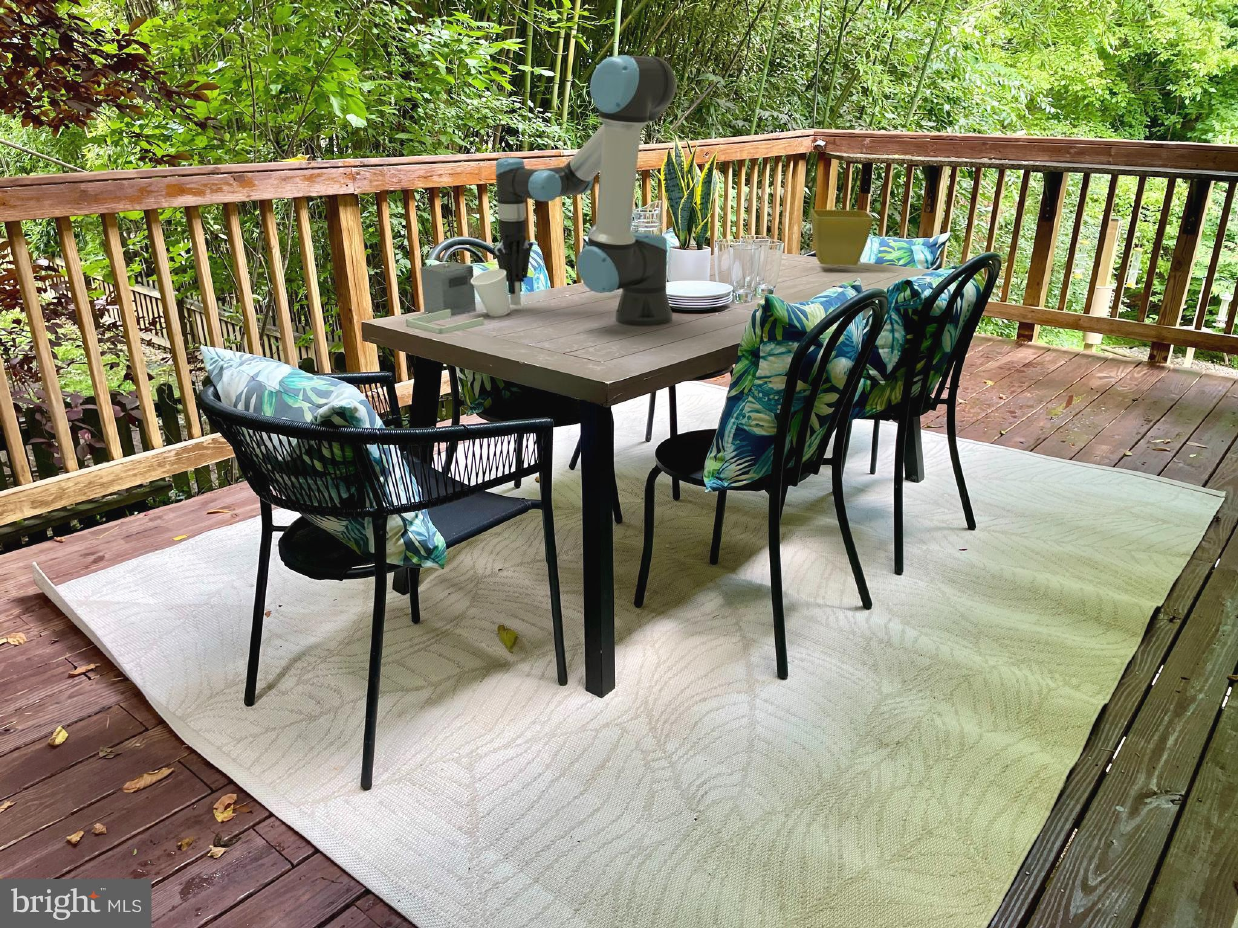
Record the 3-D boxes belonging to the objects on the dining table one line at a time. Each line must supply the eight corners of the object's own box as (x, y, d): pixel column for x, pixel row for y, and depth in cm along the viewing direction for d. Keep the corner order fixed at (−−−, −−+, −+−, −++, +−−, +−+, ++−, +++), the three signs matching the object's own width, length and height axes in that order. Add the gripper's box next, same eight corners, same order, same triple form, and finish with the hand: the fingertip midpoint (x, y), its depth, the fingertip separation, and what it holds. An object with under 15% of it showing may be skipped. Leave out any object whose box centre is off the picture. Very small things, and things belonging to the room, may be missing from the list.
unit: (476, 312, 250) (473, 263, 245) (445, 319, 243) (441, 269, 237) (454, 307, 256) (451, 259, 251) (423, 314, 249) (419, 265, 243)
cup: (515, 317, 241) (503, 279, 235) (480, 324, 242) (467, 287, 236) (518, 302, 249) (508, 265, 243) (485, 309, 251) (473, 273, 245)
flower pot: (860, 257, 323) (865, 209, 316) (868, 268, 305) (874, 217, 299) (807, 256, 325) (810, 209, 318) (812, 267, 307) (816, 217, 300)
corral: (484, 329, 234) (483, 317, 233) (441, 340, 224) (440, 328, 223) (449, 320, 242) (449, 309, 241) (407, 330, 233) (405, 319, 231)
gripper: (520, 214, 247) (523, 298, 257) (484, 220, 239) (489, 306, 248) (539, 217, 243) (541, 303, 253) (503, 223, 234) (507, 311, 244)
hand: (515, 304), depth 250 cm, fingers closed
